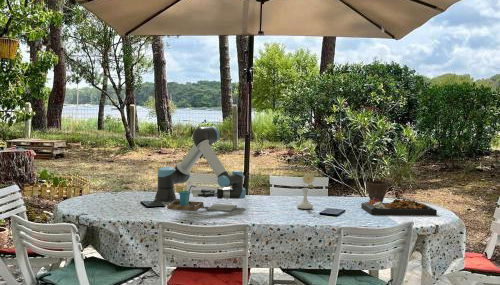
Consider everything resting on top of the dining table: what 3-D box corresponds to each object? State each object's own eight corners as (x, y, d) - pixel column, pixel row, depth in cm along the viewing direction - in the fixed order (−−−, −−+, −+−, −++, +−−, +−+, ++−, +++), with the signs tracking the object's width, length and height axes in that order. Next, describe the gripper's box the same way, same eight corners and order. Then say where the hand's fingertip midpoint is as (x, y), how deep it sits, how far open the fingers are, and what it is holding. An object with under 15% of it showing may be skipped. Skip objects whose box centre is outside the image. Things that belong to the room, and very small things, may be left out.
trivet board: (207, 210, 416) (207, 208, 416) (214, 205, 435) (214, 203, 435) (230, 211, 413) (230, 210, 413) (236, 206, 432) (236, 205, 432)
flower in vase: (293, 208, 431) (294, 172, 429) (303, 206, 440) (304, 171, 438) (308, 211, 422) (309, 174, 421) (318, 209, 431) (319, 173, 429)
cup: (196, 206, 430) (196, 184, 429) (195, 208, 422) (195, 186, 421) (176, 205, 430) (176, 184, 429) (174, 207, 422) (175, 185, 421)
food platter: (371, 215, 415) (371, 200, 414) (361, 209, 439) (361, 194, 438) (436, 216, 419) (437, 201, 418) (423, 209, 443) (423, 195, 443)
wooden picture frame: (167, 208, 419) (167, 204, 419) (175, 203, 437) (175, 200, 436) (196, 210, 415) (196, 206, 415) (203, 205, 433) (203, 202, 433)
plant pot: (378, 206, 448) (379, 184, 446) (361, 203, 459) (362, 181, 458) (390, 204, 457) (391, 182, 456) (374, 201, 469) (375, 180, 467)
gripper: (225, 201, 418) (193, 201, 414) (220, 195, 442) (190, 195, 439) (225, 190, 417) (193, 190, 414) (221, 185, 442) (191, 185, 438)
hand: (192, 193), depth 426 cm, fingers open, 13 cm apart
